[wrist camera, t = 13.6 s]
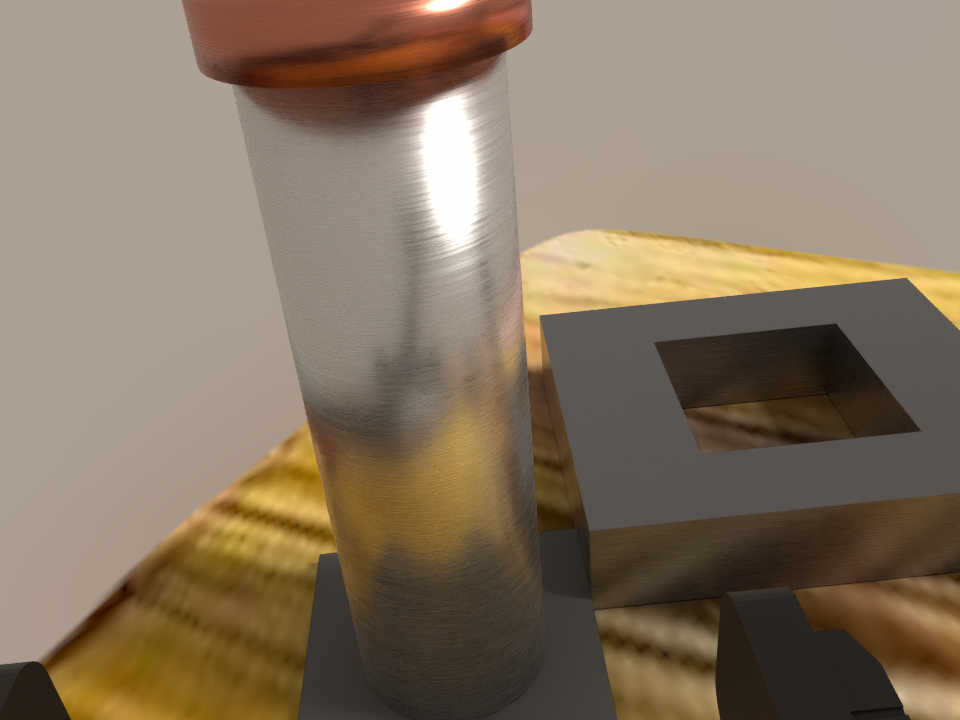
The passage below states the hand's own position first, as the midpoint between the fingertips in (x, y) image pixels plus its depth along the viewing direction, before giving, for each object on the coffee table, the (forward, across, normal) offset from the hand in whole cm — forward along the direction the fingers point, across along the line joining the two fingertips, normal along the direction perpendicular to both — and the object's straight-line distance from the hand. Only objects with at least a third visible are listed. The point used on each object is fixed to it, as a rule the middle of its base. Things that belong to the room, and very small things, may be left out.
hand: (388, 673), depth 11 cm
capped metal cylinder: (+10, 0, +11) cm, 15 cm away
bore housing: (+17, -11, +11) cm, 23 cm away
